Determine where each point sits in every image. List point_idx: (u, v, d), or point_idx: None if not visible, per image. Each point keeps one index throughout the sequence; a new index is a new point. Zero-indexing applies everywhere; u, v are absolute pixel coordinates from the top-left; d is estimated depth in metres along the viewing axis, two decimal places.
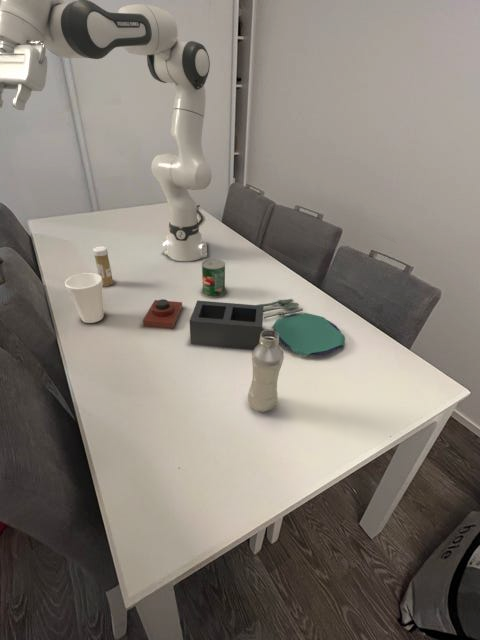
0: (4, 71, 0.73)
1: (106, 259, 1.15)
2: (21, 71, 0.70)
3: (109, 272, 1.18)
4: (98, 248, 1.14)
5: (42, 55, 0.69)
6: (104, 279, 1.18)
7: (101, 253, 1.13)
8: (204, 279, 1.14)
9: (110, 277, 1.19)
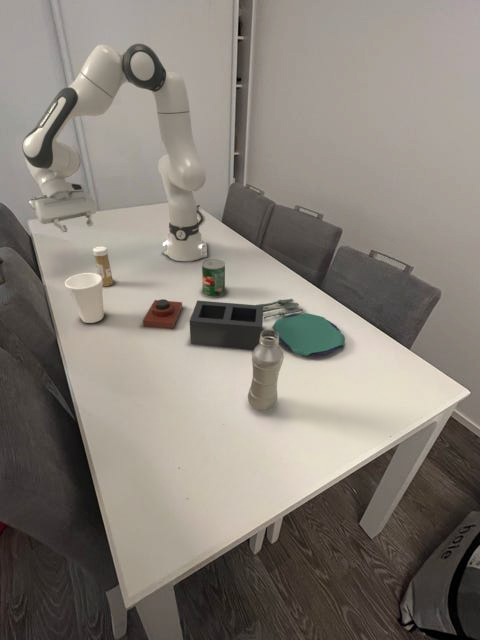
0: None
1: (106, 259, 1.15)
2: None
3: (109, 272, 1.18)
4: (98, 248, 1.14)
5: (31, 206, 1.11)
6: (104, 279, 1.18)
7: (101, 253, 1.13)
8: (204, 279, 1.14)
9: (110, 277, 1.19)
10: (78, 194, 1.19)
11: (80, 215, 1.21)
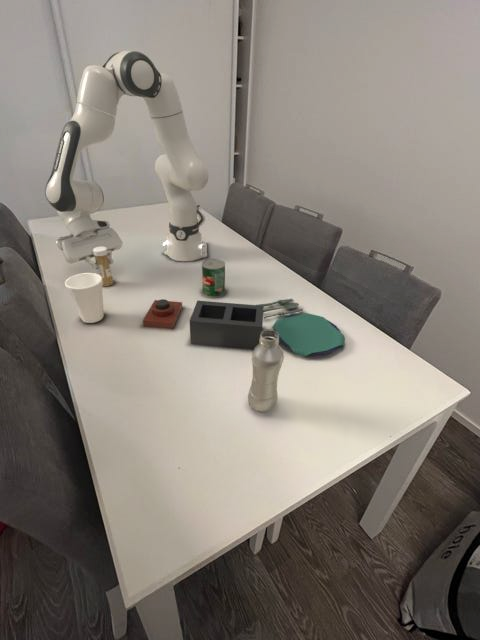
0: None
1: (106, 259, 1.15)
2: None
3: (109, 272, 1.18)
4: (98, 248, 1.14)
5: (58, 246, 1.10)
6: (104, 279, 1.18)
7: (101, 253, 1.13)
8: (204, 279, 1.14)
9: (110, 277, 1.19)
10: (103, 231, 1.18)
11: None
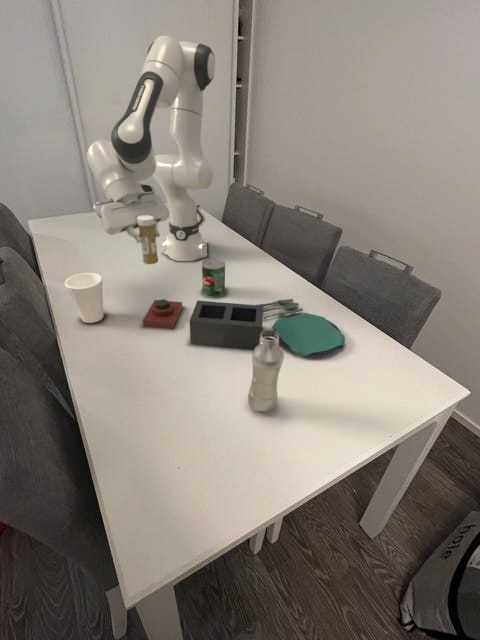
0: None
1: (152, 230, 0.94)
2: None
3: (155, 247, 0.97)
4: (143, 216, 0.93)
5: (96, 213, 0.89)
6: (149, 256, 0.97)
7: (148, 222, 0.92)
8: (204, 279, 1.14)
9: (155, 253, 0.98)
10: (148, 197, 0.97)
11: None
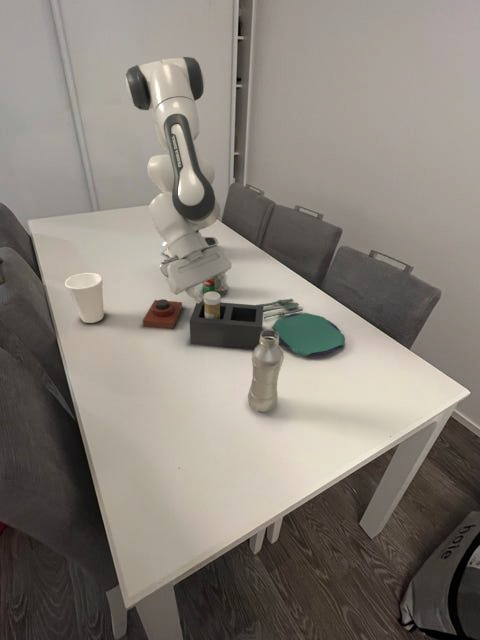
0: None
1: (218, 308, 0.92)
2: None
3: None
4: (210, 294, 0.91)
5: None
6: None
7: (215, 301, 0.90)
8: None
9: None
10: (212, 250, 0.92)
11: (212, 276, 0.94)
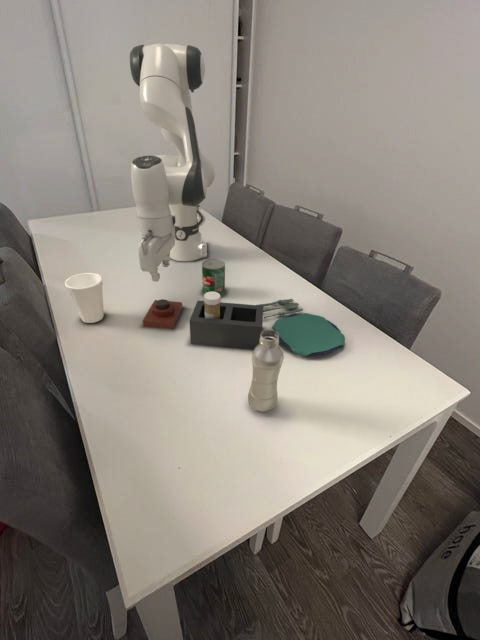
0: None
1: (218, 308, 0.92)
2: None
3: None
4: (210, 294, 0.91)
5: (142, 250, 0.82)
6: None
7: (215, 301, 0.90)
8: (204, 279, 1.14)
9: None
10: None
11: None
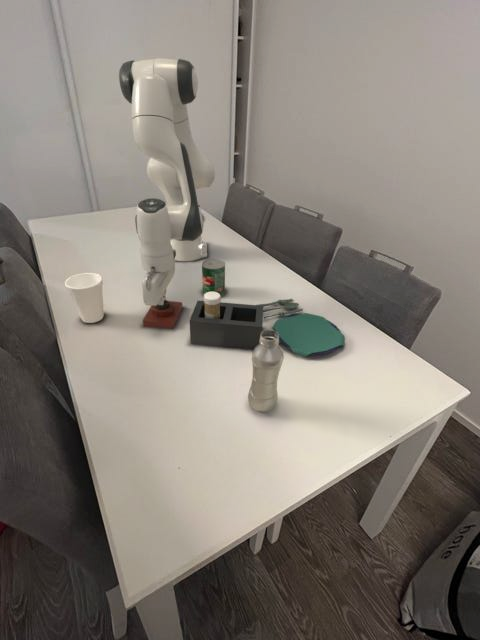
0: None
1: (218, 308, 0.92)
2: None
3: None
4: (210, 294, 0.91)
5: (146, 287, 0.88)
6: None
7: (215, 301, 0.90)
8: (204, 279, 1.14)
9: None
10: None
11: None
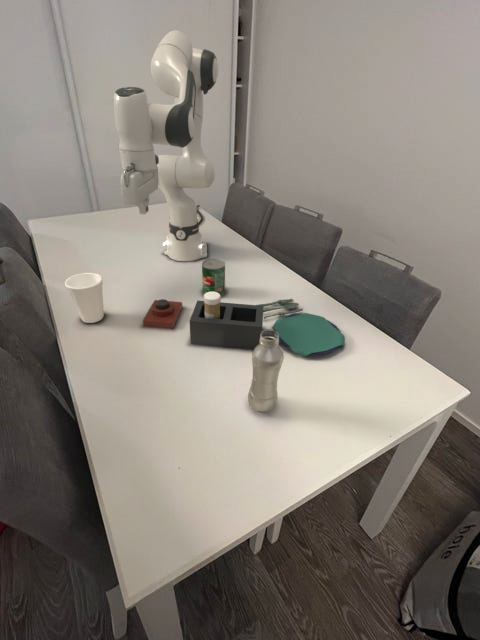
0: None
1: (218, 308, 0.92)
2: None
3: None
4: (210, 294, 0.91)
5: (124, 181, 0.83)
6: None
7: (215, 301, 0.90)
8: (204, 279, 1.14)
9: None
10: (154, 169, 0.96)
11: None
